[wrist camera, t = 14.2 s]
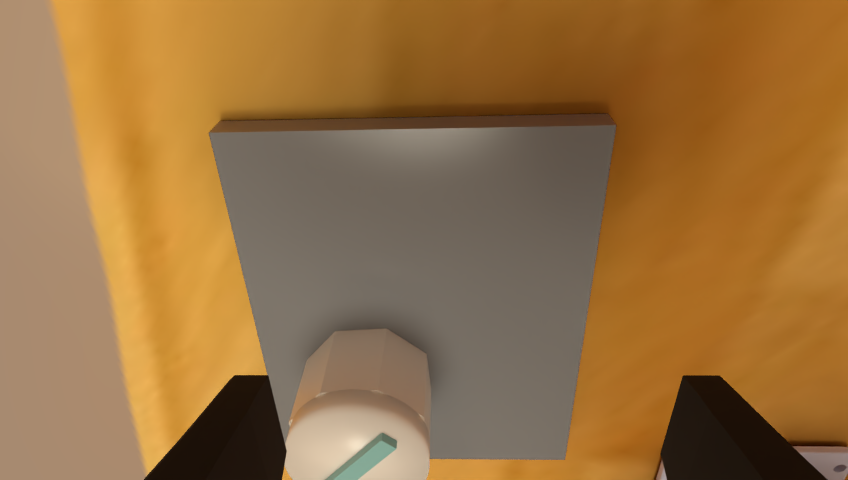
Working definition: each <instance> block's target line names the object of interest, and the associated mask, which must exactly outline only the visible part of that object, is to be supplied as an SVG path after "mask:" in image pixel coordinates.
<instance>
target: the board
mask: <svg viewBox="0 0 848 480" xmlns="http://www.w3.org/2000/svg"><path fill="white" fill-rule="evenodd" d="M615 131H616V124H615V123H614V121H613V120H612V118H611V117H610V116H609V114H608V113H606V114H554V115H502V116H450V117H398V118H346V119H295V120H243V121H219V122H218V124H217V125H216V126H215V127H214V128H213V129H212V130H211V131H210V132H209V136H210V140H211V144H212V148H213V152H214V156H215V161H216V165H217V169H218V173H219V177H220V181H221V185H222V189H223V193H224V198H225V202H226V206H227V210H228V214H229V218H230V222H231V226H232V230H233V234H234V239H235V243H236V247H237V251H238V255H239V259H240V263H241V267H242V271H243V276H244V280H245V284H246V288H247V292H248V296H249V300H250V304H251V308H252V313H253V317H254V321H255V325H256V329H257V333H258V337H259V341H260V345H261V350H262V354H263V358H264V362H265V366H266V370H267V374H268V376H269V380H270V384H271V388H272V392H273V397H274V401H275V405H276V409H277V413H278V417H279V421H280V425H281V429H282V434H283V438H284V442H285V443H286V440H287V436H288V433H289V429H290V426H289V420H290V416H291V413H292V409H293V406H294V402H295V399H296V396H297V392H298V389H299V385H300V382H301V378H302V375H303V372H304V368H305V365H306V361H307V359H308V358H309V357H310V356H311V355H312V354H313V353H314V352H315V351H316V350H317V349H318V348H319V347H320V346H321V345H322V344H323V343H324V342H325V341H326V340H327V339H328V338H329V337H330V336H331V335H332V334H333V333H334V332H335V331H348V330H366V329H385V328H387V329H388V330H390V331H391V332H393V333H394V334H396V335H398V336H399V337H401V338H402V339H404V340H406V341H407V342H409V343H410V344H412V345H413V346H415V347H417V348H418V349H420V350H421V351H423V352H424V353H426V354H427V361H428V369H429V377H430V385H431V413H430V459H529V460H565V456H566V450H567V443H568V437H569V430H570V424H571V417H572V411H573V404H574V398H575V391H576V385H577V378H578V372H579V365H580V359H581V352H582V346H583V339H584V333H585V326H586V320H587V313H588V307H589V300H590V294H591V287H592V281H593V274H594V268H595V261H596V255H597V248H598V242H599V235H600V229H601V222H602V216H603V209H604V203H605V196H606V190H607V183H608V177H609V170H610V164H611V157H612V151H613V144H614V138H615Z"/></svg>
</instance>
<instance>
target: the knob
mask: <svg viewBox="0 0 848 480" xmlns="http://www.w3.org/2000/svg"><path fill="white" fill-rule="evenodd" d="M430 413H431V385H430V377H429V369H428V361H427V354H426V353H424V352H423V351H421V350H420V349H418V348H417V347H415V346H413V345H412V344H410V343H409V342H407V341H406V340H404V339H402V338H401V337H399V336H398V335H396V334H394V333H393V332H391V331H390V330H388V329H387V328H385V329H366V330H348V331H335V332H334V333H333V334H332V335H331V336H330V337H329V338H328V339H327V340H326V341H325V342H324V343H323V344H322V345H321V346H320V347H319V348H318V349H317V350H316V351H315V352H314V353H313V354H312V355H311V356H310V357H309V358H308V359H307V361H306V365H305V368H304V372H303V375H302V378H301V382H300V385H299V389H298V392H297V396H296V399H295V402H294V406H293V409H292V413H291V416H290V420H289V426H290V429H289V433H288V436H287V440H286V443H285V446H286V450H287V453H286V459H285V464H284V465H285V468H286V470H287V472H288V474H289V475H290V477H291V478H292V479H293V480H426V478H427V476H428V472H429V460H430Z"/></svg>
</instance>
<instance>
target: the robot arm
mask: <svg viewBox="0 0 848 480" xmlns="http://www.w3.org/2000/svg"><path fill="white" fill-rule="evenodd" d="M286 453H287V450H286V446H285V442H284V438H283V434H282V429H281V425H280V421H279V417H278V413H277V409H276V405H275V401H274V397H273V392H272V388H271V384H270V380H269V376H268V375H235V376H234V377H232V378H231V379H230V380H229V381H228V383H227V384H226V385H225V386H224V387H223V389H222V390H221V391H220V392H219V393H218V395H217V396H216V397H215V398H214V399H213V400H212V402H211V403H210V404H209V405H208V406H207V408H206V409H205V410H204V411H203V412H202V414H201V415H200V416H199V417H198V418H197V420H196V421H195V422H194V423H193V424H192V425H191V427H190V428H189V429H188V430H187V431H186V432H185V434H184V435H183V436H182V437H181V438H180V439H179V441H178V442H177V443H176V444H175V445H174V446H173V447H172V449H171V450H170V451H169V452H168V453H167V454H166V455H165V456H164V457H163V459H162V460H161V461H160V462H159V463H158V464H157V465H156V466H155V468H154V469H153V470H152V471H151V472H150V473H149V474H148V475H147V477H146V478H145V479H144V480H282V475H283V470H284V464H285V459H286ZM661 458H662V461H661V465H660V468H659V472H658V475H657V478H656V480H844V479H845V478H846V476H847V474H848V447H842V446H791V445H790V444H789V443H788V442H787V441H786V440H785V439H784V438H783V437H782V436H781V435H780V434H779V433H778V432H777V431H776V430H775V429H774V428H773V427H772V426H771V425H770V424H769V423H768V422H767V421H766V420H765V419H764V418H763V417H762V416H761V415H760V414H759V413H758V412H756V411H755V410H754V409H753V408H752V407H751V406H750V405H749V404H748V403H747V402H746V401H745V400H744V399H743V398H742V397H741V396H740V395H739V394H738V393H737V392H736V391H735V390H734V389H733V388H732V387H731V386H730V385H729V384H728V383H727V382H726V381H725V380H724V379H723V378H722V377H720V376H683V377H682V381H681V384H680V388H679V391H678V395H677V398H676V402H675V405H674V409H673V412H672V416H671V419H670V422H669V426H668V429H667V433H666V436H665V440H664V443H663V447H662V450H661Z"/></svg>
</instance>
